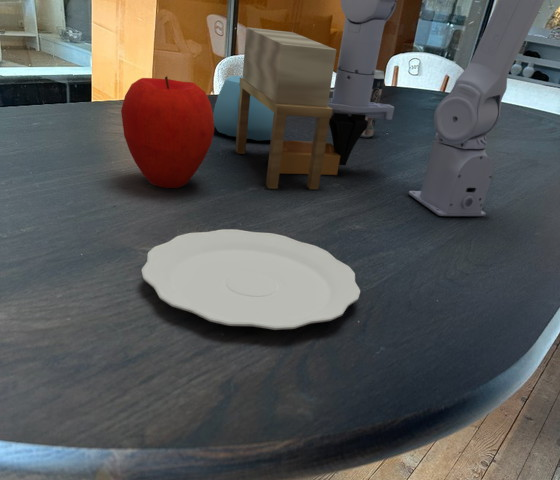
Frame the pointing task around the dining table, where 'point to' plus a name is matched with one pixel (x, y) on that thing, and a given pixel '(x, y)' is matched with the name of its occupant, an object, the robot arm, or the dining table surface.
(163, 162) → the apple
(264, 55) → the stand
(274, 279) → the plate
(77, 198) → the dining table surface
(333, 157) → the low wooden box
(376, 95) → the beer can
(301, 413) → the dining table surface
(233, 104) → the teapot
